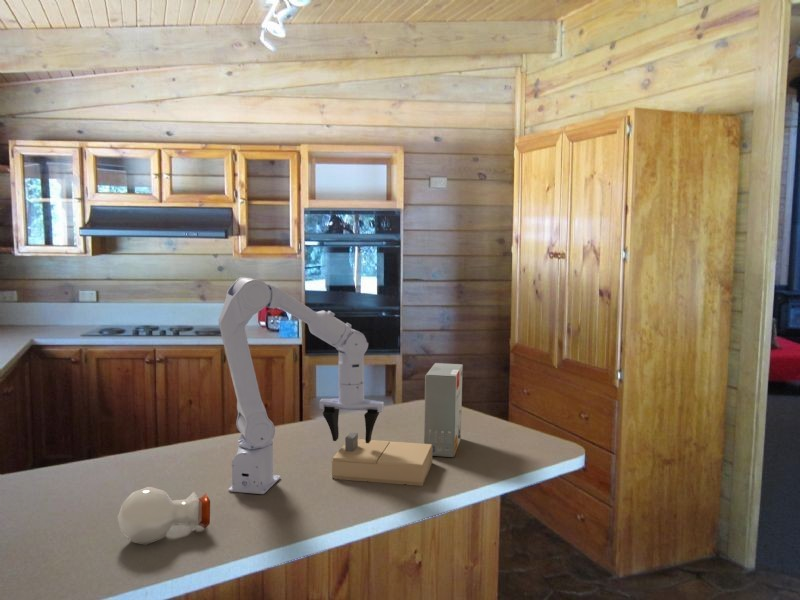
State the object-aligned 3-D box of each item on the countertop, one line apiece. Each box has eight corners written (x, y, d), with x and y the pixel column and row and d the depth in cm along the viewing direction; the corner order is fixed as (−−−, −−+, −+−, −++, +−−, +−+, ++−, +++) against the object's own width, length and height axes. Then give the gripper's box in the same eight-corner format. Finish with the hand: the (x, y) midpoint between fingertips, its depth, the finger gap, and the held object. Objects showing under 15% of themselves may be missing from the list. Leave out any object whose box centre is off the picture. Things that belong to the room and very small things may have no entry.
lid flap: (376, 463, 142) (376, 447, 141) (332, 460, 144) (332, 444, 143) (389, 443, 155) (389, 428, 155) (349, 440, 157) (349, 426, 157)
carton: (422, 486, 140) (422, 465, 140) (332, 478, 144) (331, 458, 144) (432, 463, 154) (432, 443, 153) (349, 456, 158) (349, 438, 157)
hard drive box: (454, 458, 157) (455, 376, 155) (423, 456, 158) (423, 374, 156) (461, 438, 172) (462, 363, 170) (432, 436, 174) (433, 361, 171)
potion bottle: (113, 552, 114) (201, 543, 121) (120, 539, 107) (213, 530, 114) (114, 498, 118) (199, 492, 126) (121, 482, 111) (211, 477, 118)
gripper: (386, 379, 151) (386, 437, 152) (325, 376, 153) (326, 433, 155) (379, 386, 144) (379, 447, 145) (316, 383, 147) (317, 443, 148)
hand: (351, 440), depth 150 cm, fingers open, 7 cm apart
